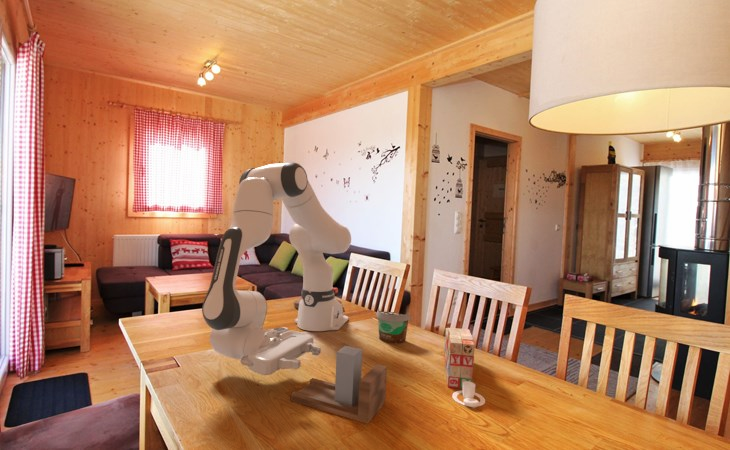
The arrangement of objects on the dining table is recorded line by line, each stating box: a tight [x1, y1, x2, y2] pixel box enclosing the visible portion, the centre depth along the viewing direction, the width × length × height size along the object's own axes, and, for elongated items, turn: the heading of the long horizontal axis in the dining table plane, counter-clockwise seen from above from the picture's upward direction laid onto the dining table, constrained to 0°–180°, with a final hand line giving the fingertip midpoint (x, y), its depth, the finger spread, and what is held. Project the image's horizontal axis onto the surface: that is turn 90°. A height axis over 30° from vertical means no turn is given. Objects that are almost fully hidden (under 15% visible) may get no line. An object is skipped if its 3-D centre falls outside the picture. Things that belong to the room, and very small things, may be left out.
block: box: [334, 345, 363, 407], centre depth 93 cm, size 4×4×12 cm
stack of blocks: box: [444, 327, 476, 390], centre depth 114 cm, size 21×6×12 cm, turn 172°
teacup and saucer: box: [451, 381, 486, 408], centre depth 98 cm, size 9×8×4 cm
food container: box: [375, 308, 412, 345], centre depth 137 cm, size 12×6×10 cm, turn 68°
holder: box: [290, 363, 388, 425], centre depth 94 cm, size 10×20×9 cm, turn 66°
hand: (309, 358), depth 97 cm, fingers open, 8 cm apart
